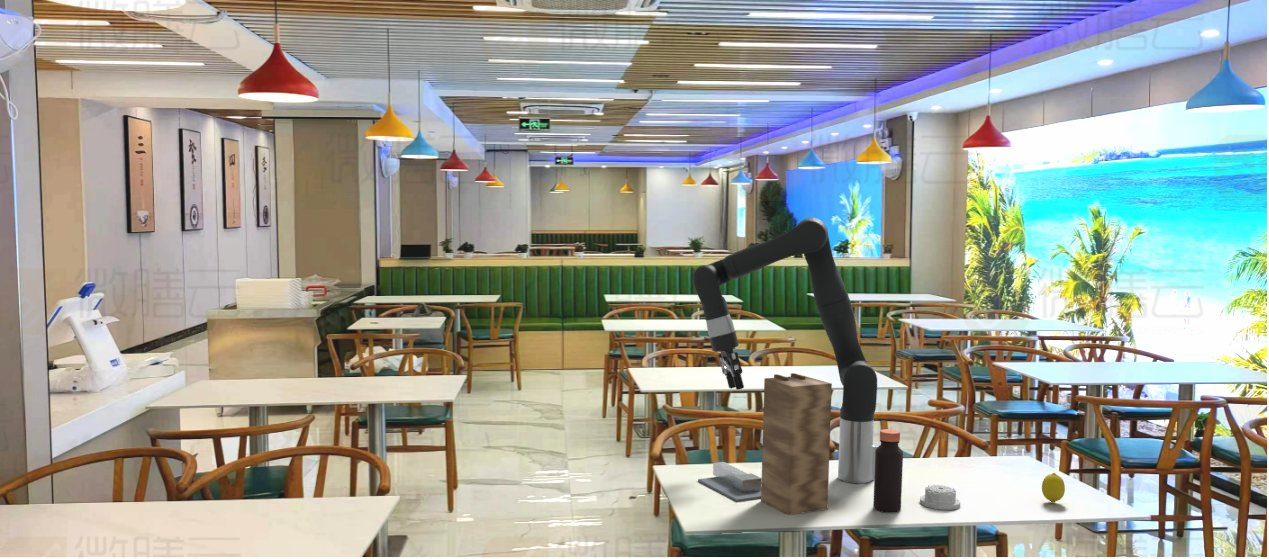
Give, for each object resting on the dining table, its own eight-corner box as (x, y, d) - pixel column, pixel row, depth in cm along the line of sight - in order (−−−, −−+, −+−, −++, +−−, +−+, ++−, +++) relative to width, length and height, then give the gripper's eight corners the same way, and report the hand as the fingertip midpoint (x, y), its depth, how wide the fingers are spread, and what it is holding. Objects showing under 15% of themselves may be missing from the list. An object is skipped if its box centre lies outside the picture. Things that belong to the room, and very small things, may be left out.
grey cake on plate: (964, 512, 242) (955, 500, 252) (965, 495, 242) (956, 483, 252) (923, 510, 243) (916, 498, 253) (924, 492, 243) (917, 481, 253)
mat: (735, 476, 270) (735, 474, 269) (775, 496, 252) (775, 494, 252) (698, 481, 264) (698, 479, 264) (737, 501, 246) (737, 499, 246)
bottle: (886, 514, 238) (889, 435, 236) (867, 507, 244) (870, 429, 242) (906, 511, 241) (909, 432, 240) (887, 503, 247) (890, 427, 246)
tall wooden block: (799, 495, 252) (803, 372, 250) (827, 509, 242) (831, 380, 239) (760, 501, 247) (764, 375, 245) (788, 514, 236) (792, 383, 234)
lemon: (1064, 501, 252) (1065, 471, 251) (1063, 507, 247) (1065, 477, 246) (1041, 498, 254) (1042, 469, 253) (1040, 504, 249) (1042, 474, 248)
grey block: (727, 473, 271) (727, 461, 270) (761, 490, 254) (761, 478, 254) (709, 475, 268) (709, 463, 268) (742, 493, 252) (742, 480, 252)
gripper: (740, 329, 267) (755, 385, 266) (728, 330, 281) (742, 384, 280) (714, 336, 265) (730, 393, 265) (704, 336, 279) (718, 390, 279)
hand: (736, 388), depth 272 cm, fingers open, 8 cm apart
